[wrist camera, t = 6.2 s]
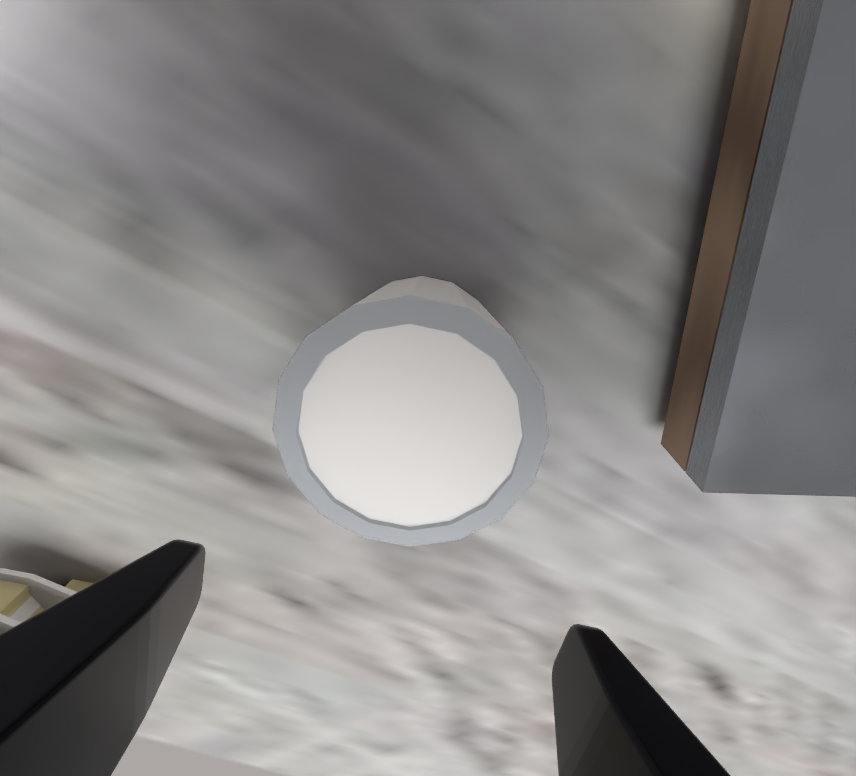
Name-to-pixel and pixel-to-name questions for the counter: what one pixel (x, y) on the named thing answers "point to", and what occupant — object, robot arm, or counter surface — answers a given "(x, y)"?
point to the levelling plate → (792, 285)
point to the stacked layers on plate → (29, 596)
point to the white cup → (411, 416)
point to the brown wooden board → (725, 217)
